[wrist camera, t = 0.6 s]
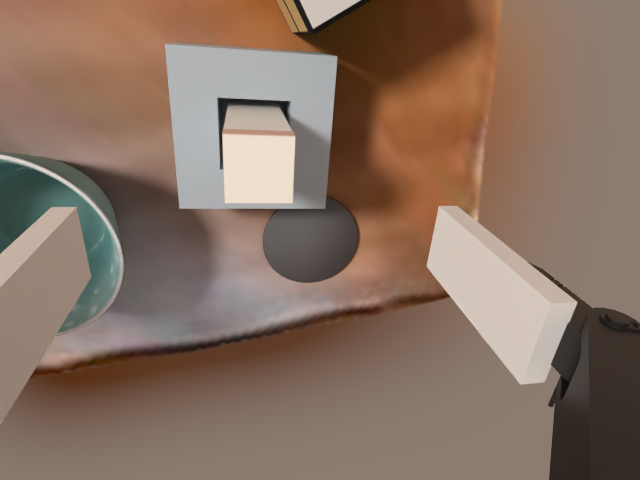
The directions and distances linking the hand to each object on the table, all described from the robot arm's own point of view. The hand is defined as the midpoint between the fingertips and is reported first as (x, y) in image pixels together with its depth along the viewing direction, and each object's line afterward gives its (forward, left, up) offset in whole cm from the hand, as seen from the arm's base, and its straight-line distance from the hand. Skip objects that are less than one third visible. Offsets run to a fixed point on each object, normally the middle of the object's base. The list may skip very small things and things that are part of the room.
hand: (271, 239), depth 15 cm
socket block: (0, 0, -24) cm, 24 cm away
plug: (0, 0, -23) cm, 23 cm away
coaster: (+6, -12, -24) cm, 28 cm away
